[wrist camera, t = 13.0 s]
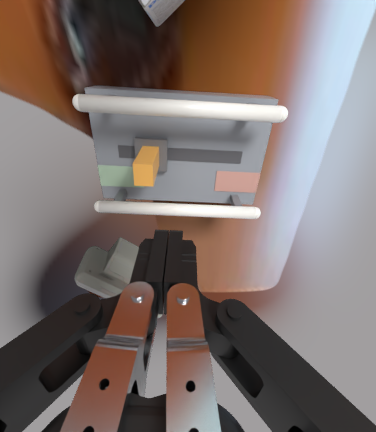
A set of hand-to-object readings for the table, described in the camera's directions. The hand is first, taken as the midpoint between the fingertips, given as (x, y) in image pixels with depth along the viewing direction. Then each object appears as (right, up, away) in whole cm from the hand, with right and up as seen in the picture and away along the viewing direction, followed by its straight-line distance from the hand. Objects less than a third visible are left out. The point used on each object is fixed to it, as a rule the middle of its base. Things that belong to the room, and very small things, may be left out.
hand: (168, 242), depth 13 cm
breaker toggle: (-4, +10, +16) cm, 19 cm away
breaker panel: (0, +12, +20) cm, 23 cm away
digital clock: (-11, -7, +33) cm, 35 cm away
